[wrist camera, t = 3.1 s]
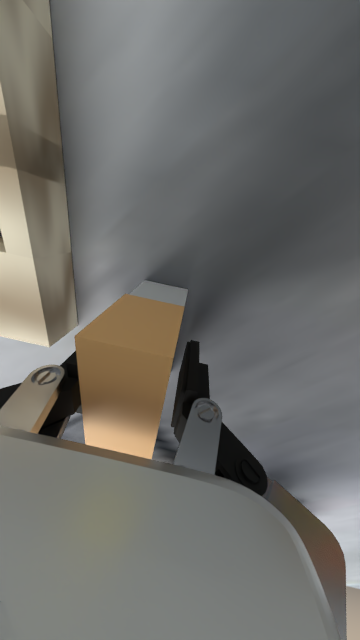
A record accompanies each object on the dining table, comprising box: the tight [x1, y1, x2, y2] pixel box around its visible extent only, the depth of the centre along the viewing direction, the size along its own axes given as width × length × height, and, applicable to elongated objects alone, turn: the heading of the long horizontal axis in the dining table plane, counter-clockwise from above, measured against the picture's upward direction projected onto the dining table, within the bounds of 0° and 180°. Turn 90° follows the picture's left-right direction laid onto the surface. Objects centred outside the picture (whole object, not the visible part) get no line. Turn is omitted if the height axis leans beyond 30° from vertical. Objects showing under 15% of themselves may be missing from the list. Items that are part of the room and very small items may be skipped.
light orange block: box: [75, 280, 188, 459], centre depth 10 cm, size 8×3×8 cm, turn 169°
